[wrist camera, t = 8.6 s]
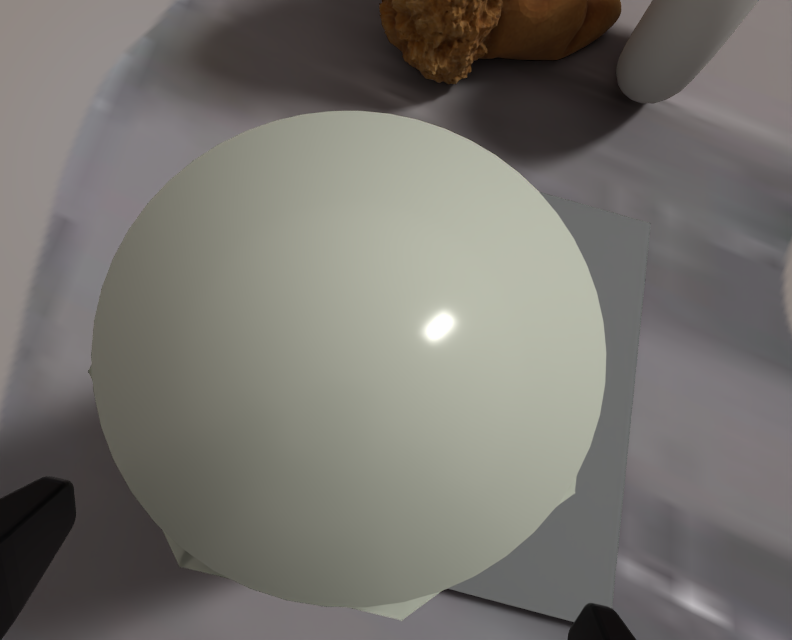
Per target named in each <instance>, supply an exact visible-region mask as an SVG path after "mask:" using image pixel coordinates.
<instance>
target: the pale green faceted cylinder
mask: <svg viewBox="0 0 792 640" xmlns="http://www.w3.org/2000/svg"><path fill="white" fill-rule="evenodd" d="M91 360H92V365H91V367H90V369H89V370H88V373H89V374H90V376H91V378H92V380H93V391H94V396H95V401H96V406H97V410H98V415H99V420H100V425H101V428H102V430H103V433H104V436H105V438H106V441H107V444H108V447H109V449H110V452H111V455H112V457H113V460H114V462H115V463H116V465H117V467H118V469H119V471H120V472H121V474H122V476H123V478H124V480H125V481H126V483H127V485H128V487H129V489H130V490H131V492H132V493H133V495H134V496H135V497H136V499H137V500H138V501H139V503H140V504H141V505H142V506H143V508H144V509H145V510H146V512H147V513H148V514H149V516H150V517H151V518H152V519H153V521H154V522H155V523H156V524H157V525H158V526H159V527H160V528H161V529H162V530H163V533H164V535H165V537H166V539H167V541H168V543H169V545H170V548H171V550H172V552H173V554H174V556H175V558H176V560H177V563H178V566H179V567H180V568H181V567H183V568H187V569H191V570H195V571H200V572H204V573H208V574H212V575H216V576H220V577H224V578H228V579H232V580H234V581H236V582H238V583H240V584H242V585H244V586H246V587H248V588H250V589H253V590H256V591H259V592H263V593H266V594H269V595H272V596H275V597H278V598H281V599H284V600H288V601H294V602H300V603H306V604H312V605H318V606H324V607H348V608H352V609H357V610H361V611H365V612H369V613H373V614H377V615H381V616H386V617H390V618H394V619H398V620H400V621H403V619H404V618H406V617H407V616H408V615H410V614H411V613H413V612H414V611H415V610H417V609H418V608H419V607H421V606H422V605H423V604H425V603H426V602H428V601H429V600H430V599H432V598H433V597H434V596H436V595H437V594H438V593H440V592H441V591H443V590H445V589H448V588H450V587H452V586H454V585H456V584H459V583H461V582H463V581H465V580H468V579H470V578H472V577H474V576H476V575H478V574H479V573H481V572H482V571H484V570H485V569H487V568H489V567H490V566H492V565H493V564H495V563H496V562H498V561H500V560H501V559H503V558H504V557H506V556H507V555H508V554H509V553H511V552H512V551H513V550H514V549H515V548H516V547H518V546H519V545H520V544H521V543H522V542H523V541H525V540H526V539H527V538H528V537H529V536H530V535H532V534H533V533H534V532H535V531H536V529H537V528H538V527H539V526H540V525H541V524H542V523H543V521H544V520H545V519H546V518H547V517H548V516H549V515H550V513H551V512H552V511H553V510H554V509H555V508H556V507H557V506H558V505H559V504H561V503H562V502H564V501H565V500H566V499H568V498H569V497H570V496H572V495H573V494H574V495H575V486H576V477H577V474H578V472H579V469H580V467H581V465H582V463H583V461H584V459H585V457H586V454H587V452H588V450H589V448H590V446H591V442H592V439H593V436H594V433H595V430H596V426H597V423H598V420H599V417H600V412H601V406H602V400H603V394H604V388H605V377H606V343H605V333H604V322H603V318H602V313H601V309H600V304H599V300H598V295H597V291H596V289H595V286H594V283H593V280H592V277H591V275H590V272H589V269H588V266H587V264H586V262H585V260H584V258H583V256H582V254H581V252H580V250H579V248H578V246H577V244H576V242H575V240H574V238H573V236H572V235H571V233H570V232H569V230H568V229H567V227H566V226H565V224H564V223H563V221H562V220H561V218H560V217H559V215H558V214H557V213H556V211H555V210H554V209H553V208H552V207H551V205H550V204H549V203H548V202H547V201H546V200H545V198H544V197H543V196H542V195H541V194H540V192H539V191H538V190H537V189H536V188H534V187H533V186H532V185H531V184H530V183H529V182H528V181H527V180H526V179H525V178H524V177H523V176H522V175H521V174H520V173H519V172H517V171H516V170H515V169H513V168H512V167H511V166H509V165H508V164H507V163H505V162H504V161H503V160H501V159H500V158H499V157H497V156H496V155H495V154H493V153H491V152H490V151H488V150H486V149H484V148H483V147H481V146H479V145H478V144H476V143H474V142H473V141H471V140H469V139H467V138H464V137H462V136H460V135H458V134H455V133H453V132H451V131H449V130H447V129H444V128H441V127H438V126H435V125H432V124H429V123H426V122H423V121H420V120H417V119H412V118H407V117H402V116H398V115H393V114H387V113H377V112H367V111H328V112H320V113H311V114H303V115H298V116H294V117H290V118H285V119H281V120H277V121H273V122H270V123H267V124H264V125H262V126H259V127H256V128H253V129H250V130H248V131H245V132H243V133H241V134H239V135H237V136H235V137H233V138H231V139H229V140H227V141H225V142H223V143H220V144H218V145H217V146H215V147H214V148H212V149H211V150H209V151H208V152H206V153H204V154H203V155H201V156H200V157H198V158H197V159H195V160H194V161H192V162H191V163H190V164H189V165H187V166H186V167H185V168H184V169H183V170H181V171H180V172H179V173H178V174H177V175H175V176H174V177H173V178H172V179H171V180H169V181H168V182H167V183H166V185H165V186H164V187H163V188H162V189H161V190H160V191H159V192H158V193H157V194H156V195H155V196H154V197H153V198H152V199H151V200H150V202H149V203H148V204H147V205H146V206H145V208H144V209H143V211H142V212H141V213H140V215H139V216H138V217H137V219H136V220H135V222H134V223H133V224H132V226H131V227H130V228H129V230H128V232H127V234H126V235H125V237H124V239H123V241H122V243H121V245H120V247H119V248H118V250H117V252H116V254H115V256H114V258H113V260H112V263H111V265H110V268H109V271H108V273H107V276H106V278H105V281H104V284H103V286H102V289H101V294H100V298H99V302H98V307H97V311H96V315H95V320H94V329H93V340H92V352H91Z"/></svg>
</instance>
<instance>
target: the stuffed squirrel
mask: <svg viewBox="0 0 792 640" xmlns="http://www.w3.org/2000/svg"><path fill="white" fill-rule="evenodd" d="M379 5H380V6H379V9H380V13H381V15H380V17H381V21H382V26H383V28H384V30H385V34H386V35H387V38H388V40H389V42H390V43H391V44H393V45H394V46H396V47H397V48H398V49H399V50H400V51H402V53H403V56H402V57H403V58H404V60H405V61H406V62H408V63H409V65H411V66H412V67H414V68H416V69H418V70H419V71H420V72H421V74H422V75H423V76H424V77H425V78H426V79H432V80H435V81H436V82H438V83H441V82H443V81H444V82H445V83H447V84H451V83H452V84H457V82H458V81H459V80H460V79H462V78H467V74H468V73H471V64H472V63H473V61H474V60H477V59H478V58H480V59H491V58H497V57H500V58H505V59H519V60H559V59H562V58H564V57H566V56H568V55H570V54H572V53H574V52H576V51H578V50H580V49H581V48H583V47H585V46H587V45H588V44H590V43H591V42H593V41H594V40H596V39H598V38H599V37H600V36H602V35H603V34H604V33H605V32H606V31H607V30H608V29H609V28H610V27H611V26H612V25H613V24H614V23H615V22H616V21H617V19H618V18H619V16H620V14H621V2H620V0H382V3H381V4H380V3H379Z"/></svg>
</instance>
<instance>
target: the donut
mask: <svg viewBox="0 0 792 640" xmlns="http://www.w3.org/2000/svg"><path fill="white" fill-rule="evenodd" d="M758 1H759V0H653V1H652V2H651V4H650V6H649V7H648V9H647V10H646V12H645V13H644V15H643V17H642V18H641V20H640V21H639V23H638V25H637V26H636V28H635V29H634V31H633V33H632V34H631V36H630V38H629V39H628V41H627V43H626V44H625V46H624V48H623V51H622V53H621V55H620V57H619V59H618V63H617V69H616V75H617V82H618V85H619V87H620V89H621V91H622V92H623V93H624V94H625V95H626V96H627V97H628V98H629V99H631V100H633V101H636V102H639V103H656V102H660V101H663V100H666V99H668V98H670V97H672V96H674V95H675V94H677V93H679V92H680V91H681V90H682V89H684V88H685V87H686V86H687V85H688V84H689V83H690V82H691V81H692V80H693V79H694V78H695V77H696V75H697V74H698V73H699V72H700V71H701V70H702V69H703V68H704V67H705V66H706V64H707V63H708V62H709V61H710V60H711V59H712V58H713V57H714V56H715V54H716V53H717V52H718V51H719V50H720V48H721V47H722V46H723V45H724V44H725V42H726V41H727V40H728V39H729V38H730V36H731V35H732V34H733V33H734V31H735V30H736V29H737V28H738V26H739V25H740V24H741V23H742V21H743V20H744V19H745V18H746V16H747V15H748V14H749V12H750V11H751V10H752V9H753V7H754V6H755V5H756V4H757V2H758Z"/></svg>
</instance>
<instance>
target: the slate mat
mask: <svg viewBox="0 0 792 640" xmlns="http://www.w3.org/2000/svg"><path fill="white" fill-rule="evenodd" d="M540 194H541V195H542V196H543V197H544V198H545V200H546V201H547V202H548V203H549V204H550V205H551V207H552V208H553V209H554V210H555V211H556V213H557V214H558V215H559V217H560V218H561V220H562V221H563V223H564V224H565V226H566V227H567V229H568V230H569V232H570V233H571V235H572V236H573V238H574V240H575V242H576V244H577V246H578V248H579V250H580V252H581V254H582V256H583V258H584V260H585V262H586V264H587V266H588V269H589V272H590V275H591V277H592V280H593V283H594V286H595V289H596V291H597V295H598V300H599V304H600V309H601V313H602V318H603V322H604V333H605V343H606V377H605V388H604V394H603V400H602V406H601V412H600V417H599V420H598V423H597V426H596V430H595V433H594V436H593V439H592V442H591V446H590V448H589V450H588V452H587V454H586V457H585V459H584V461H583V463H582V465H581V467H580V469H579V472H578V474H577V477H576V486H575V495H574V494H573V495H572V496H570V497H569V498H568V499H566V500H565V501H564V502H562V503H561V504H559V505H558V506H557V507H556V508H555V509H554V510H553V511H552V512H551V513H550V515H549V516H548V517H547V518H546V519H545V520H544V521H543V523H542V524H541V525H540V526H539V527H538V528H537V529H536V531H535V532H534V533H533V534H532V535H530V536H529V537H528V538H527V539H526V540H525V541H523V542H522V543H521V544H520V545H519V546H518V547H516V548H515V549H514V550H513V551H512V552H511V553H509V554H508V555H507V556H506V557H504V558H503V559H501V560H500V561H498V562H496V563H495V564H493V565H492V566H490V567H489V568H487V569H485V570H484V571H482V572H481V573H479V574H478V575H476V576H474V577H472V578H470V579H468V580H465V581H463V582H461V583H459V584H456V585H454V586H452V587H450V588H448V589H451V590H455V591H459V592H462V593H466V594H470V595H474V596H477V597H481V598H485V599H489V600H492V601H496V602H500V603H504V604H508V605H511V606H515V607H519V608H523V609H526V610H530V611H534V612H538V613H542V614H545V615H549V616H553V617H557V618H560V619H564V620H568V621H572V622H574V621H575V620H576V618H577V617H578V615H579V614H580V612H581V611H582V609H583V608H584V606H585V605H586V604H588V603H595V604H600V605H604V606H608V607H610V608H612V603H613V593H614V583H615V573H616V563H617V553H618V543H619V533H620V523H621V513H622V504H623V494H624V484H625V474H626V464H627V454H628V444H629V434H630V424H631V414H632V404H633V394H634V384H635V374H636V364H637V354H638V344H639V335H640V325H641V315H642V305H643V295H644V285H645V275H646V265H647V255H648V245H649V235H650V225H651V223H648V222H644V221H641V220H637V219H634V218H630V217H627V216H623V215H620V214H616V213H613V212H609V211H605V210H602V209H598V208H595V207H591V206H588V205H584V204H581V203H577V202H574V201H570V200H566V199H563V198H559V197H556V196H552V195H549V194H545V193H542V192H540Z"/></svg>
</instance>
